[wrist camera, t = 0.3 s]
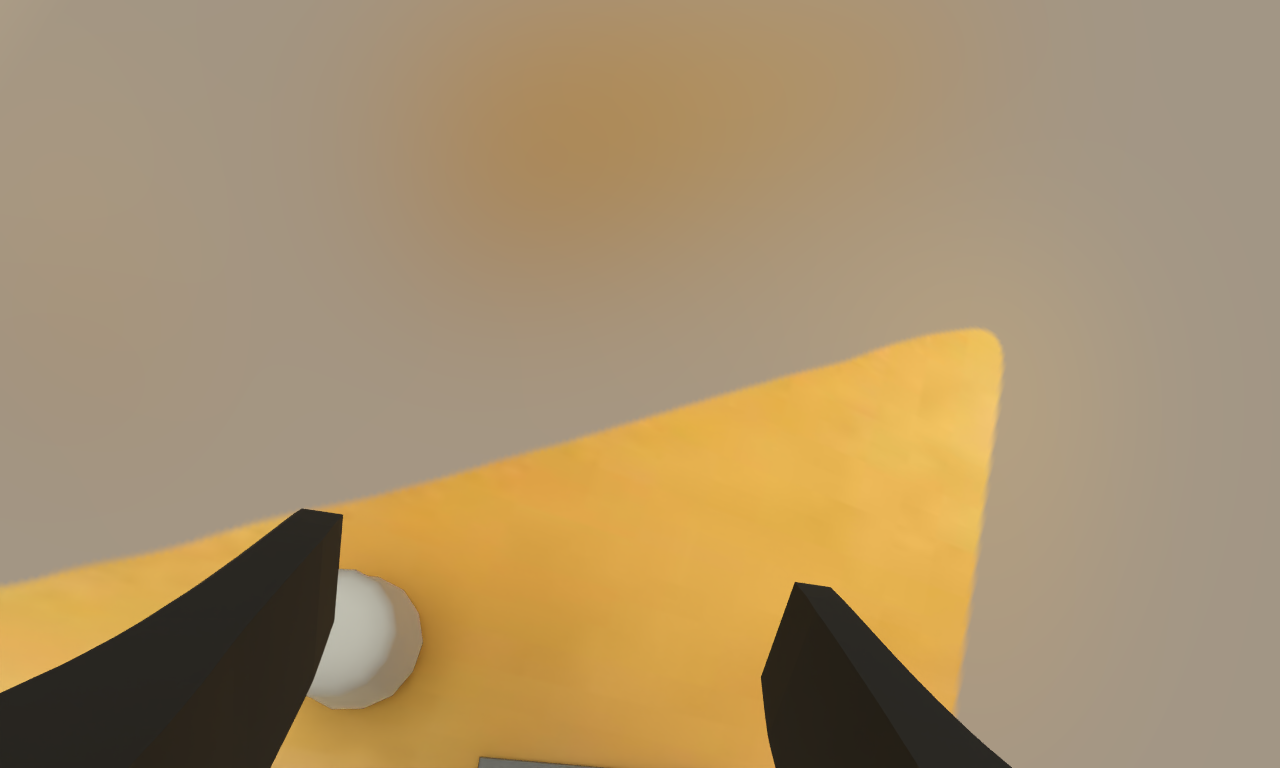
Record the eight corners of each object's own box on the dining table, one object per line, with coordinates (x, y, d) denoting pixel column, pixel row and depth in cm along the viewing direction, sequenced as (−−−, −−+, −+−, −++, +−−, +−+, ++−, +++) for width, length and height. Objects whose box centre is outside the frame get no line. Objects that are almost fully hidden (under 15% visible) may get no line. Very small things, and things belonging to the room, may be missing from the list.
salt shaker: (445, 616, 40) (453, 593, 28) (380, 729, 38) (359, 756, 26) (340, 559, 40) (303, 512, 28) (268, 670, 37) (194, 670, 26)
